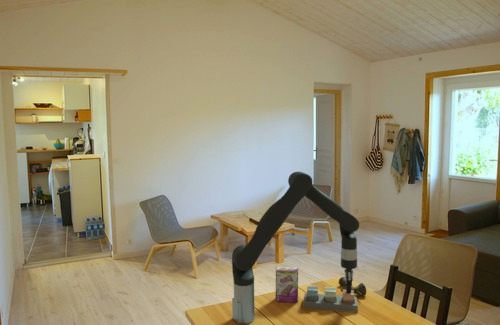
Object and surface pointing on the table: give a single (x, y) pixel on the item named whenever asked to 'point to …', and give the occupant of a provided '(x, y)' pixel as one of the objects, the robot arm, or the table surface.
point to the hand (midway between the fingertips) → (348, 292)
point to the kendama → (357, 290)
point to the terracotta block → (348, 297)
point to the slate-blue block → (312, 293)
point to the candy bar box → (286, 284)
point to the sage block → (330, 294)
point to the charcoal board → (330, 304)
